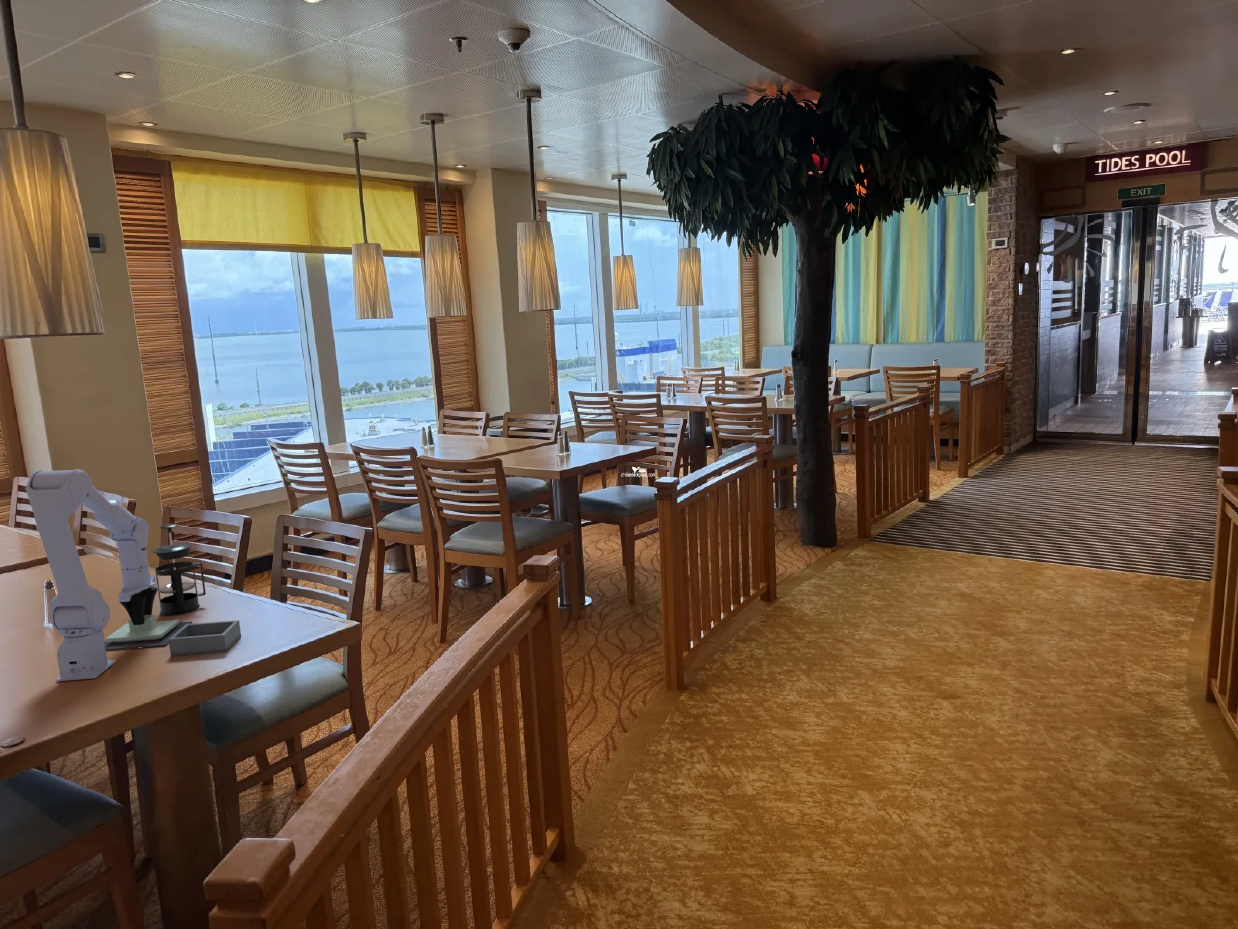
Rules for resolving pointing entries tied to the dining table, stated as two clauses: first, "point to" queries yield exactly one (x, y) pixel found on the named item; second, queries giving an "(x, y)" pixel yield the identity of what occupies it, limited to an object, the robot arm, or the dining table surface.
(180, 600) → the french press
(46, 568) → the dining table surface
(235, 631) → the tub
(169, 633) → the mat
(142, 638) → the lid
